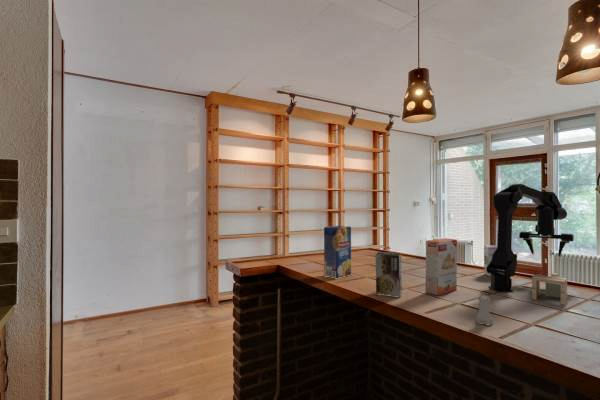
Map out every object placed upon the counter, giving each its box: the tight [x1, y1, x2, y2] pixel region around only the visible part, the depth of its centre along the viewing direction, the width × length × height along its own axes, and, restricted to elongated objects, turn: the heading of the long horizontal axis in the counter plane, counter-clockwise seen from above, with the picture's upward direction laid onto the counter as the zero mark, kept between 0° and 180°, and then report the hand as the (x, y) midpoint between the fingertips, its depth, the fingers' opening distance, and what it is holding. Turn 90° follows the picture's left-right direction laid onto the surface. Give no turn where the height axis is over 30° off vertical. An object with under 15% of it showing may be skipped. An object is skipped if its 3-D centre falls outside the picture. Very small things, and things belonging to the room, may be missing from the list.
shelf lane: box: [531, 274, 568, 305], centre depth 118 cm, size 9×9×8 cm
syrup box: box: [483, 244, 499, 278], centre depth 155 cm, size 6×6×14 cm
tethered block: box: [544, 273, 561, 299], centre depth 127 cm, size 16×5×6 cm, turn 140°
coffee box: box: [375, 251, 403, 298], centre depth 125 cm, size 9×6×16 cm
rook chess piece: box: [475, 294, 494, 325], centre depth 95 cm, size 4×4×8 cm
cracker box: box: [425, 237, 458, 296], centre depth 128 cm, size 14×6×21 cm, turn 126°
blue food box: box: [323, 225, 352, 278], centre depth 156 cm, size 12×8×24 cm, turn 137°
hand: (545, 255), depth 141 cm, fingers open, 9 cm apart
